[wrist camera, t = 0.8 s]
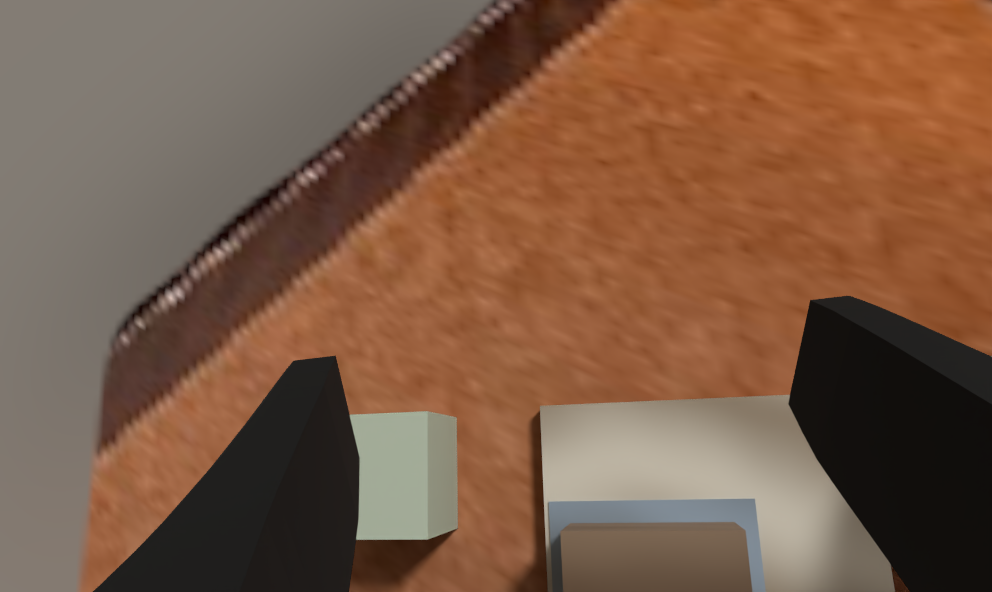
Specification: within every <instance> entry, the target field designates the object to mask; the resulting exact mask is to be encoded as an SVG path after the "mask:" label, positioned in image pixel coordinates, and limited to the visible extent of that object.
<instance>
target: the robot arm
mask: <svg viewBox="0 0 992 592" xmlns="http://www.w3.org/2000/svg"><path fill="white" fill-rule="evenodd" d="M788 404H789V406H790V408H791V410H792V412H793V414H794V416H795V418H796V420H797V423H798V425H799V427H800V429H801V431H802V433H803V435H804V437H805V438H806V440H807V442H808V444H809V446H810V448H811V449H812V451H813V453H814V455H815V457H816V459H817V460H818V462H819V463H820V465H821V466H822V468H823V469H824V471H825V472H826V474H827V475H828V477H829V478H830V479H831V481H832V482H833V484H834V485H835V487H836V488H837V489H838V491H839V492H840V494H841V495H842V497H843V498H844V499H845V501H846V502H847V504H848V505H849V507H850V508H851V509H852V511H853V512H854V514H855V515H856V516H857V518H858V519H859V521H860V522H861V523H862V525H863V526H864V528H865V529H866V530H867V532H868V533H869V535H870V536H871V537H872V539H873V540H874V542H875V543H876V544H877V546H878V547H879V549H880V550H881V551H882V553H883V554H884V556H885V557H886V558H887V560H888V561H889V563H890V564H891V565H892V567H893V568H894V570H895V571H896V572H897V574H898V575H899V577H900V578H901V579H902V581H903V582H904V584H905V585H906V586H907V588H908V589H909V591H910V592H992V357H991V356H989V355H987V354H984V353H982V352H980V351H978V350H975V349H973V348H971V347H969V346H966V345H964V344H962V343H960V342H957V341H955V340H953V339H951V338H949V337H946V336H944V335H942V334H940V333H937V332H935V331H933V330H931V329H928V328H926V327H924V326H922V325H920V324H917V323H915V322H913V321H911V320H908V319H906V318H904V317H902V316H899V315H897V314H895V313H892V312H890V311H888V310H885V309H883V308H880V307H878V306H876V305H873V304H870V303H868V302H865V301H863V300H860V299H857V298H854V297H851V296H842V297H834V298H825V299H817V300H810V304H809V309H808V314H807V318H806V323H805V328H804V332H803V337H802V342H801V346H800V351H799V356H798V360H797V365H796V370H795V374H794V379H793V384H792V388H791V393H790V398H789V402H788ZM359 472H360V457H359V453H358V449H357V445H356V440H355V436H354V432H353V428H352V423H351V419H350V415H349V411H348V406H347V402H346V398H345V394H344V389H343V385H342V381H341V377H340V372H339V368H338V364H337V360H336V356H330V357H322V358H313V359H305V360H296V361H293V362H292V363H291V365H290V366H289V367H288V368H287V369H286V371H285V372H284V373H283V375H282V376H281V377H280V379H279V380H278V381H277V383H276V384H275V385H274V387H273V388H272V389H271V391H270V392H269V393H268V395H267V396H266V397H265V399H264V400H263V401H262V403H261V404H260V405H259V407H258V408H257V409H256V411H255V412H254V413H253V415H252V416H251V417H250V419H249V420H248V421H247V423H246V424H245V425H244V426H243V428H242V429H241V430H240V432H239V433H238V434H237V435H236V437H235V438H234V439H233V440H232V442H231V443H230V444H229V445H228V447H227V448H226V449H225V450H224V452H223V453H222V454H221V455H220V457H219V458H218V459H217V460H216V462H215V463H214V464H213V465H212V467H211V468H210V469H209V470H208V471H207V473H206V474H205V475H204V476H203V477H202V478H201V480H200V481H199V482H198V483H197V484H196V485H195V486H194V488H193V489H192V490H191V491H190V492H189V493H188V494H187V496H186V497H185V498H184V499H183V500H182V501H181V502H180V503H179V505H178V506H177V507H176V508H175V509H174V510H173V511H172V513H171V514H170V515H169V516H168V517H167V518H166V519H165V520H164V522H163V523H162V524H161V525H160V526H159V527H158V528H157V529H156V530H155V531H154V532H153V533H152V534H151V535H150V536H149V537H148V539H147V540H146V541H145V542H144V543H143V544H142V545H141V546H140V547H139V548H138V549H137V550H136V551H135V552H134V553H133V554H132V555H131V556H130V557H129V558H128V559H127V560H126V561H124V562H123V563H122V564H121V565H120V566H119V567H118V568H117V569H116V570H115V571H114V572H113V573H112V574H111V575H110V576H109V577H108V578H107V579H106V580H105V581H104V582H103V583H102V584H101V585H100V586H99V587H98V588H96V589H95V590H94V591H93V592H349V586H350V579H351V572H352V565H353V558H354V550H355V543H356V536H357V528H358V520H359Z"/></svg>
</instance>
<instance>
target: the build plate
mask: <svg viewBox="0 0 992 592" xmlns="http://www.w3.org/2000/svg"><path fill="white" fill-rule="evenodd" d="M789 398H790V395H776V396H753V397H731V398H709V399H686V400H664V401H641V402H619V403H597V404H574V405H552V406H540V420H541V444H542V467H543V491H544V515H545V538H546V562H547V586H548V592H563V578H562V557H561V536H560V531H561V530H563V529H564V528H565V527H566V526H567V525H569V524H570V523H658V522H735V523H737V524H738V525H739V526H740V527H742V528H743V529H744V530H746V538H747V547H748V556H749V565H750V574H751V583H752V592H895V588H894V582H893V576H892V570H891V564H890V563H889V561H888V560H887V558H886V557H885V556H884V554H883V553H882V551H881V550H880V549H879V547H878V546H877V544H876V543H875V542H874V540H873V539H872V537H871V536H870V535H869V533H868V532H867V530H866V529H865V528H864V526H863V525H862V523H861V522H860V521H859V519H858V518H857V516H856V515H855V514H854V512H853V511H852V509H851V508H850V507H849V505H848V504H847V502H846V501H845V499H844V498H843V497H842V495H841V494H840V492H839V491H838V489H837V488H836V487H835V485H834V484H833V482H832V481H831V479H830V478H829V477H828V475H827V474H826V472H825V471H824V469H823V468H822V466H821V465H820V463H819V462H818V460H817V459H816V457H815V455H814V453H813V451H812V449H811V448H810V446H809V444H808V442H807V440H806V438H805V437H804V435H803V433H802V431H801V429H800V427H799V425H798V423H797V420H796V418H795V416H794V414H793V412H792V410H791V408H790V406H789V404H788V402H789Z"/></svg>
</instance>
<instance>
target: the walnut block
mask: <svg viewBox="0 0 992 592" xmlns="http://www.w3.org/2000/svg"><path fill="white" fill-rule="evenodd" d="M560 536H561V557H562V578H563V592H752V583H751V574H750V565H749V556H748V547H747V538H746V530H744V529H743V528H742V527H740V526H739V525H738V524H737V523H735V522H658V523H570V524H569V525H567V526H566V527H565V528H564V529H563V530H561V531H560Z"/></svg>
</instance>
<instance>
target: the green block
mask: <svg viewBox="0 0 992 592" xmlns="http://www.w3.org/2000/svg"><path fill="white" fill-rule="evenodd" d="M350 419H351V423H352V428H353V432H354V436H355V440H356V445H357V449H358V453H359V457H360V472H359V520H358V528H357V536H356V540H428V539H431V538H433V537H436V536H439V535H441V534H444V533H447V532H449V531H452V530H455V529H457V528H458V499H457V417H453V416H448V415H443V414H438V413H433V412H428V411H425V412H403V413H380V414H358V415H350Z"/></svg>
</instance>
